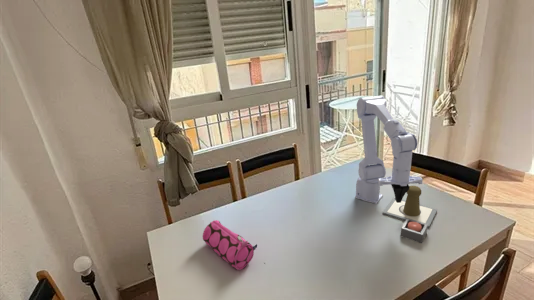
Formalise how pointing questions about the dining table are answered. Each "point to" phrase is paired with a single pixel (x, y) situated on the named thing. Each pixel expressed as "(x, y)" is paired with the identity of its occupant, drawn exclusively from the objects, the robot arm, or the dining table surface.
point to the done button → (414, 226)
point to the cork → (412, 201)
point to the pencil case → (228, 245)
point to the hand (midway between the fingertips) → (398, 201)
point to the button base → (414, 234)
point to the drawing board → (397, 212)
